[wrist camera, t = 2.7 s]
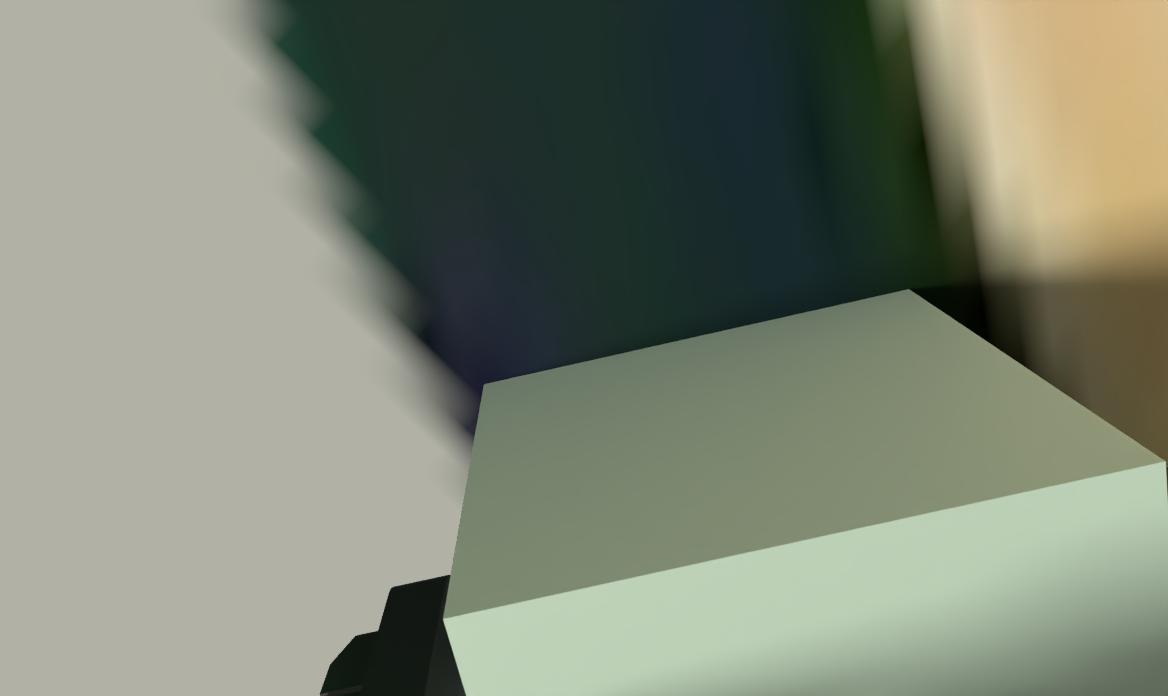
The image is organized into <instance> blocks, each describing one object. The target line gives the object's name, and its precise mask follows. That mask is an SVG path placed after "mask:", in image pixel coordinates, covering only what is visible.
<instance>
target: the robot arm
mask: <svg viewBox="0 0 1168 696" xmlns="http://www.w3.org/2000/svg"><path fill="white" fill-rule="evenodd" d="M1166 476H1167V495H1168V467H1166ZM450 576H451V575H447V576H442V577H437V578H433V579H428V580H423V581H419V582H414V583H410V584H405V585H400V586H395V587H393V588H391V590H390V592H389V595H388V599H387V602H386V606H385V609H384V612H383V616H382V620H381V623H380V626H379V630H378V631H376V632H371V633H366V634H362V635H357V636H355V637H354V638H353V639H352V641H351V642H350V643H349V644H348V645H347V646H346V647H345V648H344V650H343V651H342V652H341V653H340V654H339V655H338V657H337V658H336V659H335V660H334V661H333V662H332V663H331V664H330V667H329V670H328V672H327V675H326V678H325V681H324V684H323V687H322V690H321V692H320V696H466V693H465V690H464V687H463V683H462V680H461V677H460V674H459V670H458V667H457V664H456V660H455V657H454V654H453V651H452V647H451V644H450V641H449V637H448V634H447V631H446V628H445V624H444V621H443V616H444V610H445V604H446V599H447V593H448V587H449V581H450Z"/></svg>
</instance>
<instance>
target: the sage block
mask: <svg viewBox="0 0 1168 696" xmlns="http://www.w3.org/2000/svg"><path fill="white" fill-rule="evenodd" d="M443 621H444V624H445V628H446V631H447V634H448V637H449V641H450V644H451V647H452V651H453V654H454V657H455V660H456V664H457V667H458V670H459V674H460V677H461V680H462V683H463V687H464V690H465V693H466V696H1168V495H1167V476H1166V461H1164V460H1163V459H1161V458H1160V457H1158V456H1157V455H1155V454H1154V453H1152V452H1151V451H1150V450H1148V449H1147V448H1145V447H1144V446H1142V445H1141V444H1139V443H1138V442H1136V441H1135V440H1133V439H1132V438H1130V437H1129V436H1127V435H1126V434H1124V433H1123V432H1121V431H1120V430H1118V429H1117V428H1115V427H1114V426H1112V425H1111V424H1109V423H1108V422H1106V421H1105V420H1103V419H1102V418H1100V417H1099V416H1097V415H1096V414H1094V413H1093V412H1091V411H1090V410H1088V409H1087V408H1085V407H1084V406H1082V405H1081V404H1079V403H1078V402H1076V401H1075V400H1073V399H1072V398H1070V397H1069V396H1067V395H1066V394H1064V393H1063V392H1061V391H1060V390H1059V389H1057V388H1056V387H1054V386H1053V385H1051V384H1050V383H1048V382H1047V381H1045V380H1044V379H1042V378H1041V377H1039V376H1038V375H1036V374H1035V373H1033V372H1032V371H1030V370H1029V369H1027V368H1026V367H1024V366H1023V365H1021V364H1020V363H1018V362H1017V361H1015V360H1014V359H1012V358H1011V357H1009V356H1008V355H1006V354H1005V353H1003V352H1002V351H1000V350H999V349H997V348H996V347H994V346H993V345H991V344H990V343H988V342H987V341H985V340H984V339H982V338H981V337H979V336H978V335H976V334H975V333H973V332H972V331H971V330H969V329H968V328H966V327H965V326H963V325H962V324H960V323H959V322H957V321H956V320H954V319H953V318H951V317H950V316H948V315H947V314H945V313H944V312H942V311H941V310H939V309H938V308H936V307H935V306H933V305H932V304H930V303H929V302H927V301H926V300H924V299H923V298H921V297H920V296H918V295H917V294H915V293H914V292H912V291H911V290H909V289H908V290H904V291H899V292H895V293H890V294H886V295H881V296H877V297H872V298H868V299H863V300H859V301H854V302H850V303H845V304H841V305H837V306H832V307H828V308H823V309H819V310H814V311H810V312H805V313H801V314H796V315H792V316H787V317H783V318H778V319H774V320H769V321H765V322H761V323H756V324H752V325H747V326H743V327H738V328H734V329H729V330H725V331H720V332H716V333H711V334H707V335H702V336H698V337H694V338H689V339H685V340H680V341H676V342H671V343H667V344H662V345H658V346H653V347H649V348H644V349H640V350H635V351H631V352H626V353H622V354H618V355H613V356H609V357H604V358H600V359H595V360H591V361H586V362H582V363H577V364H573V365H568V366H564V367H559V368H555V369H551V370H546V371H542V372H537V373H533V374H528V375H524V376H519V377H515V378H510V379H506V380H501V381H497V382H492V383H488V384H484V387H483V393H482V399H481V405H480V410H479V416H478V422H477V427H476V433H475V439H474V445H473V450H472V456H471V462H470V467H469V473H468V479H467V484H466V490H465V496H464V502H463V507H462V513H461V519H460V524H459V530H458V536H457V542H456V547H455V554H454V559H453V565H452V570H451V576H450V581H449V587H448V593H447V599H446V604H445V610H444V616H443Z"/></svg>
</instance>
